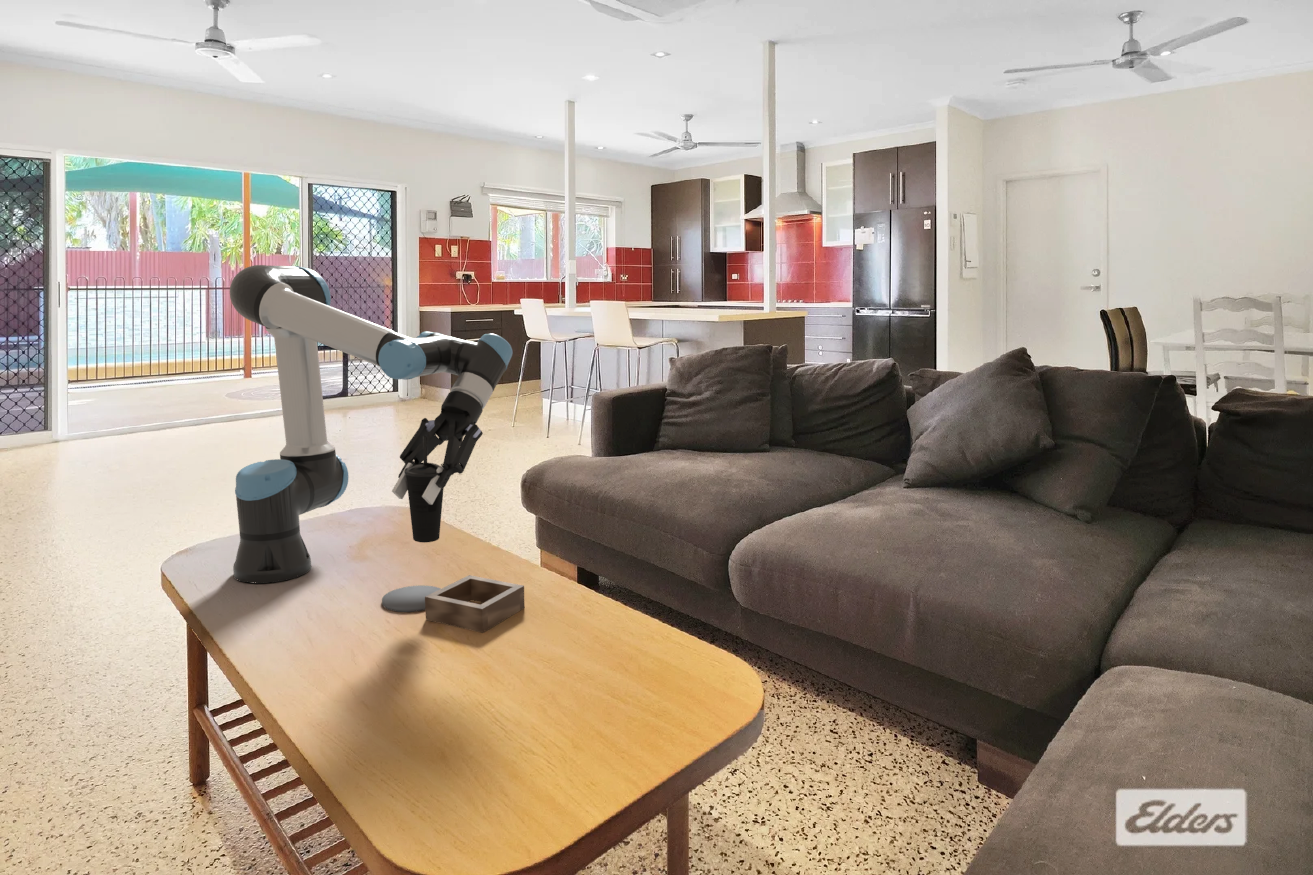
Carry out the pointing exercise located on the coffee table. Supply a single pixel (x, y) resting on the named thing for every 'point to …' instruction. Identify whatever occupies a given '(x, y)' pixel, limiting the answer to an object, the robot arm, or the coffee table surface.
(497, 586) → the wooden square tray
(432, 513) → the drinking cup
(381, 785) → the coffee table surface
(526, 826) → the coffee table surface
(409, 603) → the coaster
